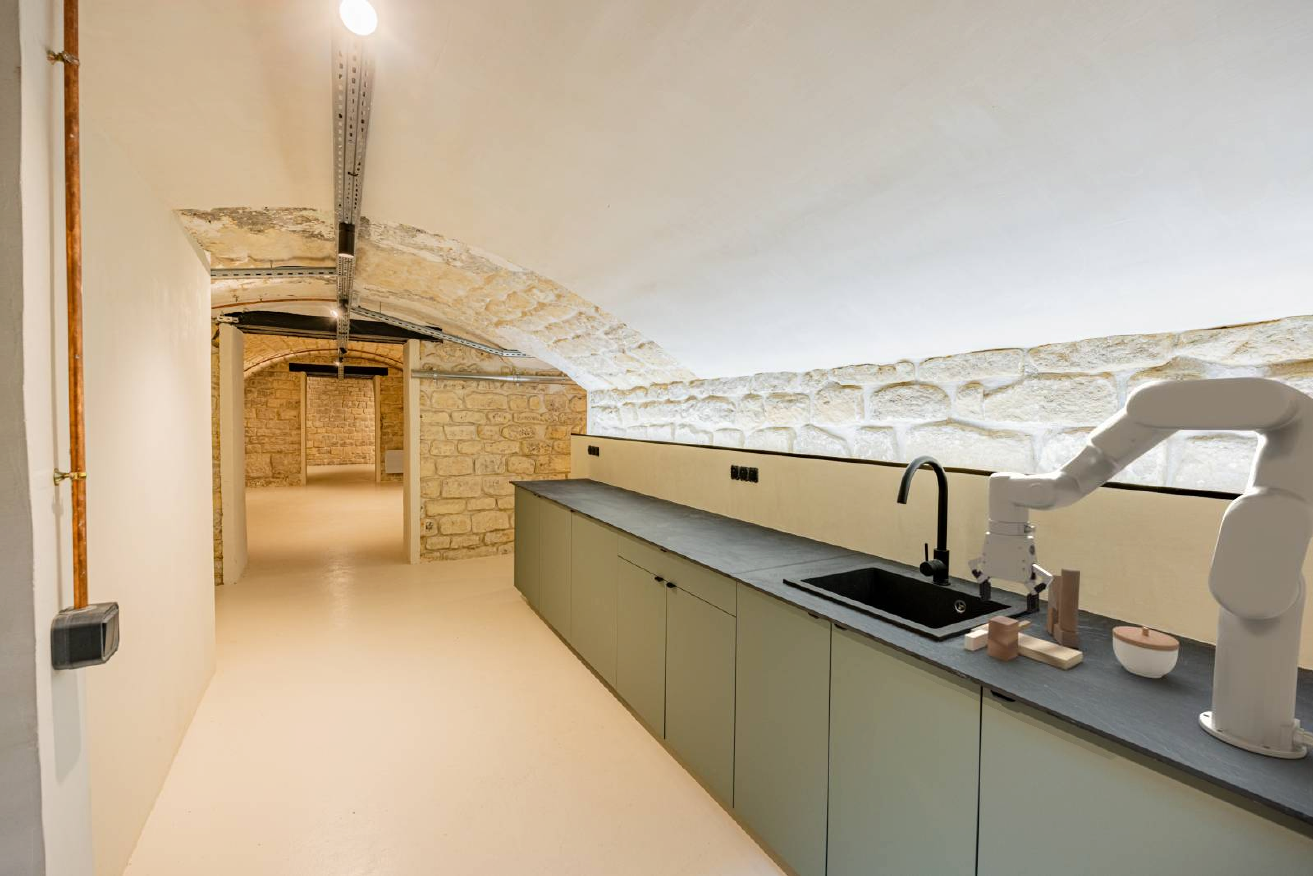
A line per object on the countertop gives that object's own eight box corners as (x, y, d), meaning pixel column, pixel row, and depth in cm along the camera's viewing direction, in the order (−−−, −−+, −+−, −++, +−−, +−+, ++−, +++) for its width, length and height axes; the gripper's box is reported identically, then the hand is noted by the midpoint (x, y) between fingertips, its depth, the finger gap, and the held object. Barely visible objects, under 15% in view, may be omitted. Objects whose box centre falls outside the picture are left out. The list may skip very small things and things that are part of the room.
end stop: (988, 644, 134) (989, 632, 134) (972, 651, 130) (973, 638, 130) (980, 641, 136) (980, 629, 135) (964, 648, 132) (964, 635, 132)
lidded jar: (1183, 674, 120) (1186, 630, 120) (1169, 688, 114) (1172, 642, 113) (1119, 656, 129) (1122, 615, 128) (1103, 668, 122) (1105, 625, 122)
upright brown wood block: (1036, 647, 133) (1038, 613, 132) (1006, 661, 125) (1007, 625, 125) (1017, 641, 136) (1019, 608, 136) (987, 654, 128) (988, 619, 128)
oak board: (1082, 661, 126) (1082, 652, 126) (1065, 669, 121) (1066, 660, 121) (987, 631, 142) (988, 623, 142) (970, 637, 138) (970, 629, 138)
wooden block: (1062, 632, 143) (1066, 560, 142) (1079, 649, 132) (1083, 572, 132) (1045, 630, 144) (1049, 559, 143) (1060, 646, 134) (1064, 570, 133)
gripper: (1060, 532, 122) (1060, 613, 122) (977, 522, 136) (977, 594, 136) (1044, 536, 117) (1043, 619, 118) (960, 525, 132) (960, 599, 132)
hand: (1008, 605), depth 127 cm, fingers open, 9 cm apart
